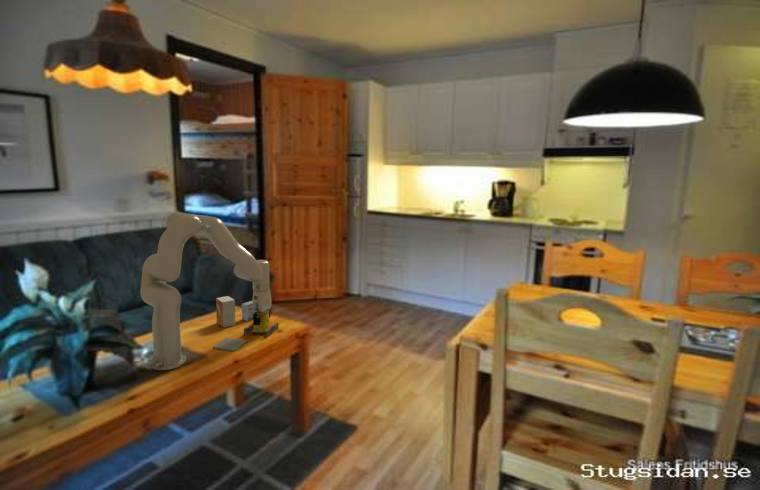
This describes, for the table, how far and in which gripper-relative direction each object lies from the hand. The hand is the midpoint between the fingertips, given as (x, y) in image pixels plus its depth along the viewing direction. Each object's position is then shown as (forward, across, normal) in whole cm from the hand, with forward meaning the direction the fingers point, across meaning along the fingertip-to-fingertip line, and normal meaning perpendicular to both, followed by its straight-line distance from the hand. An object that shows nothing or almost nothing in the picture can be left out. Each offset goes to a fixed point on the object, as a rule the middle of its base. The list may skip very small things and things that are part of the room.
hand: (262, 321), depth 196 cm
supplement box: (+5, 0, 0) cm, 5 cm away
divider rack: (+5, 0, 0) cm, 5 cm away
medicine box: (+6, +14, +14) cm, 20 cm away
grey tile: (+5, -18, +5) cm, 20 cm away
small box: (+5, +3, +21) cm, 22 cm away
